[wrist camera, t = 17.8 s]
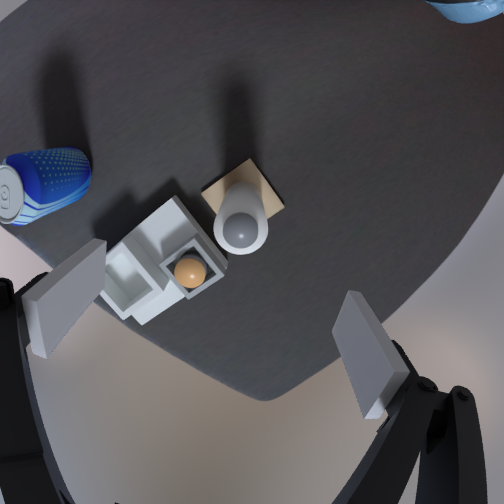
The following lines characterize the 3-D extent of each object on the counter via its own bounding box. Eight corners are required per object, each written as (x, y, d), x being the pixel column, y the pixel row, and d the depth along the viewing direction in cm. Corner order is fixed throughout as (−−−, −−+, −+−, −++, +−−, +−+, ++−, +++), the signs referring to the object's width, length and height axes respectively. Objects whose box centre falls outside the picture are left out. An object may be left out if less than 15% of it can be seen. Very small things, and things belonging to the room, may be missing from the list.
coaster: (249, 158, 39) (249, 158, 39) (284, 206, 42) (284, 207, 41) (201, 193, 41) (200, 193, 40) (236, 238, 43) (236, 240, 43)
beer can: (43, 173, 39) (-26, 194, 24) (73, 134, 37) (2, 140, 22) (72, 211, 41) (8, 246, 26) (105, 174, 40) (40, 195, 25)
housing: (175, 194, 41) (164, 203, 35) (228, 261, 44) (225, 279, 39) (97, 261, 44) (80, 277, 39) (145, 317, 48) (135, 338, 42)
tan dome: (195, 244, 40) (191, 252, 37) (214, 267, 41) (211, 277, 39) (173, 261, 41) (167, 270, 38) (191, 283, 42) (187, 293, 39)
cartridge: (226, 179, 40) (214, 201, 27) (264, 183, 40) (271, 207, 27) (223, 216, 42) (211, 255, 28) (260, 219, 42) (265, 260, 29)
